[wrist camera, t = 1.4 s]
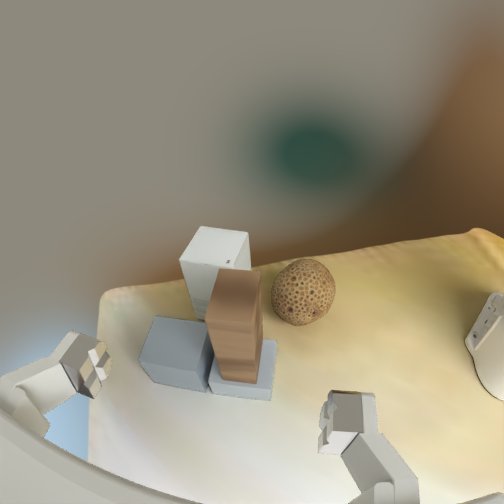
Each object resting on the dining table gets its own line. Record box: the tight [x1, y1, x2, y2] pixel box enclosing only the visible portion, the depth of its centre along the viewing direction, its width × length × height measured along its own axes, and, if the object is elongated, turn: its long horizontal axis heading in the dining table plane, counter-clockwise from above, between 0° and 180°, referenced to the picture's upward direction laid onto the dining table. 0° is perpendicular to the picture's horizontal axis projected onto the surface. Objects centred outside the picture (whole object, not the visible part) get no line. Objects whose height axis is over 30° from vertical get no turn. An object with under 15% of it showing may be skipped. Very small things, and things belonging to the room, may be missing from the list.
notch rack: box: [138, 316, 277, 401], centre depth 37 cm, size 7×16×6 cm, turn 82°
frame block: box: [205, 268, 263, 384], centre depth 32 cm, size 6×4×13 cm
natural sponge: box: [271, 259, 335, 326], centre depth 42 cm, size 9×9×10 cm
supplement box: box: [179, 226, 251, 320], centre depth 44 cm, size 7×7×13 cm
